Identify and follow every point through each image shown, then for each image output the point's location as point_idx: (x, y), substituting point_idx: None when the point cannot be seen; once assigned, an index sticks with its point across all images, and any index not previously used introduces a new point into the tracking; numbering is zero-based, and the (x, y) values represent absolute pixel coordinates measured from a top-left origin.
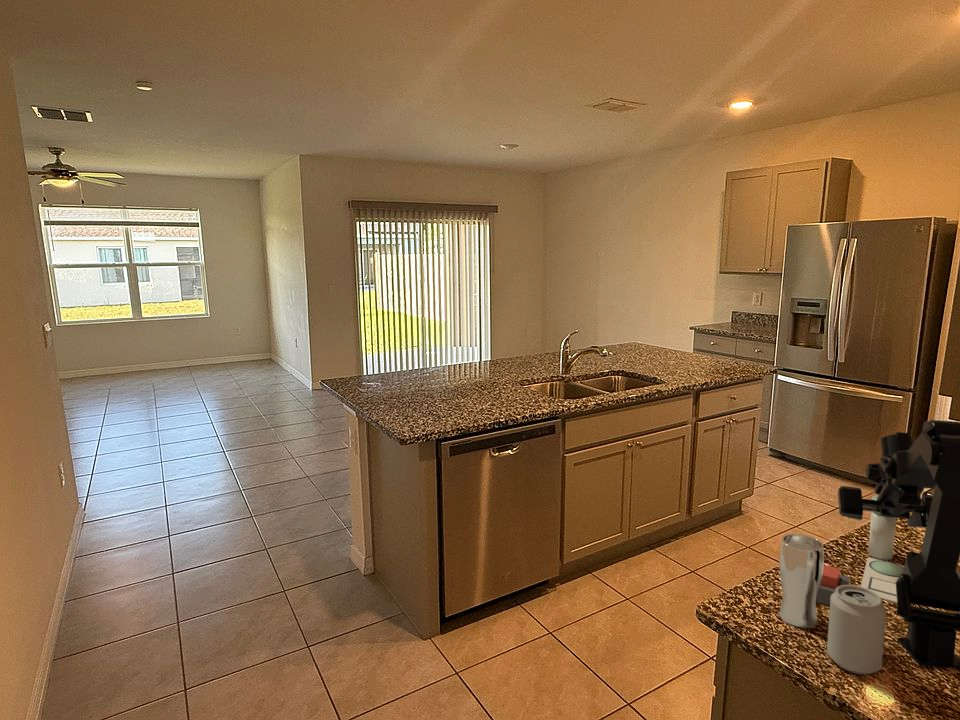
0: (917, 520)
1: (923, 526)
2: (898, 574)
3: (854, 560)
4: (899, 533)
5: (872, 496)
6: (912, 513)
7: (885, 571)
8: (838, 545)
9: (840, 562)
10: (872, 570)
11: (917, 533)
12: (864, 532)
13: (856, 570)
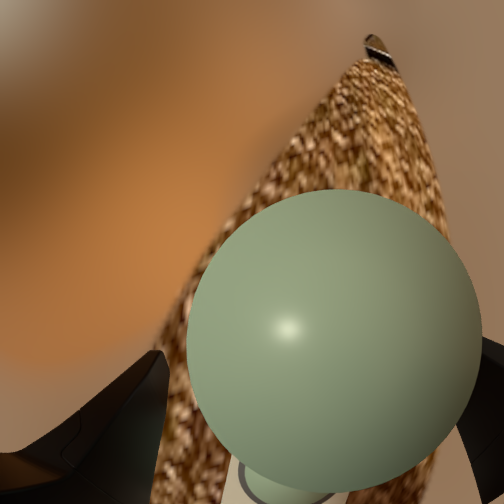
0: (493, 452)
1: (488, 501)
2: (319, 495)
3: (197, 441)
4: (344, 174)
5: (197, 294)
6: (496, 365)
7: (283, 494)
8: (159, 340)
9: (156, 464)
10: (244, 498)
11: (379, 161)
12: (253, 201)
13: (199, 500)
